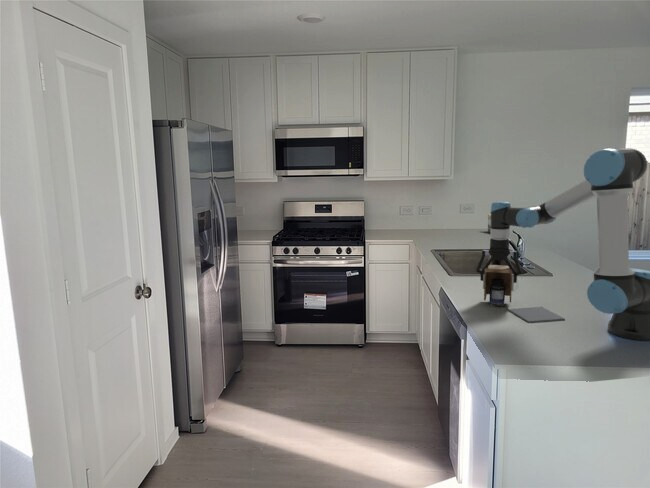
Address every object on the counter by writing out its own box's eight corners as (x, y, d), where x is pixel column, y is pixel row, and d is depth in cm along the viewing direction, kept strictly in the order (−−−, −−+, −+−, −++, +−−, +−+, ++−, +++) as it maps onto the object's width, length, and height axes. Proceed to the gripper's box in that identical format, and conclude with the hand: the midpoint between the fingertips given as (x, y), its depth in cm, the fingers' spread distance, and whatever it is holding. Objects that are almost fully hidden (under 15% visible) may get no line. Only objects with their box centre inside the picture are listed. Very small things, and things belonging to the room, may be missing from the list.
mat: (564, 320, 176) (564, 318, 176) (528, 322, 174) (528, 321, 174) (541, 308, 191) (541, 306, 191) (508, 310, 189) (508, 309, 189)
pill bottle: (492, 301, 201) (493, 277, 199) (506, 303, 198) (507, 279, 196) (487, 304, 197) (488, 280, 195) (501, 307, 193) (502, 282, 191)
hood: (511, 295, 199) (512, 265, 197) (511, 302, 189) (512, 271, 187) (485, 293, 203) (486, 264, 201) (483, 300, 193) (484, 269, 191)
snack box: (487, 231, 392) (487, 214, 389) (492, 231, 393) (493, 214, 391) (503, 235, 372) (504, 217, 369) (509, 234, 374) (510, 216, 371)
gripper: (529, 237, 191) (527, 288, 195) (471, 236, 200) (470, 285, 203) (530, 240, 184) (527, 293, 188) (470, 239, 193) (469, 289, 197)
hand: (498, 289), depth 196 cm, fingers closed on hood, 11 cm apart
